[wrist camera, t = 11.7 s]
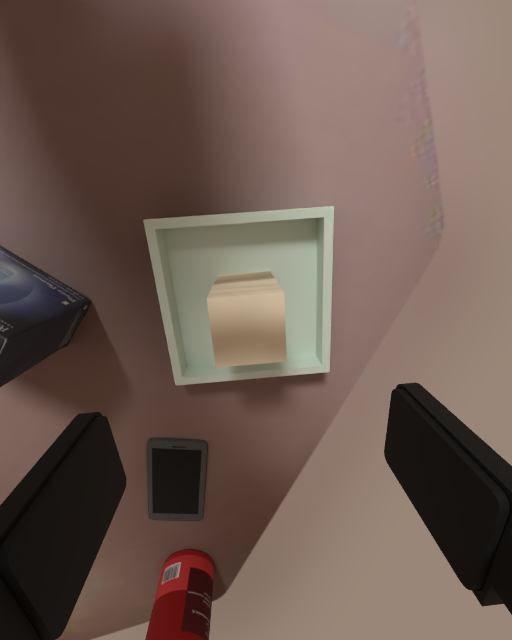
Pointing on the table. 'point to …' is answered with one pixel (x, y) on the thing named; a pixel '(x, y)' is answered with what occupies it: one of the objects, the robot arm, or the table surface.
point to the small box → (33, 315)
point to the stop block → (247, 319)
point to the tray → (241, 257)
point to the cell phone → (176, 478)
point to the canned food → (183, 598)
